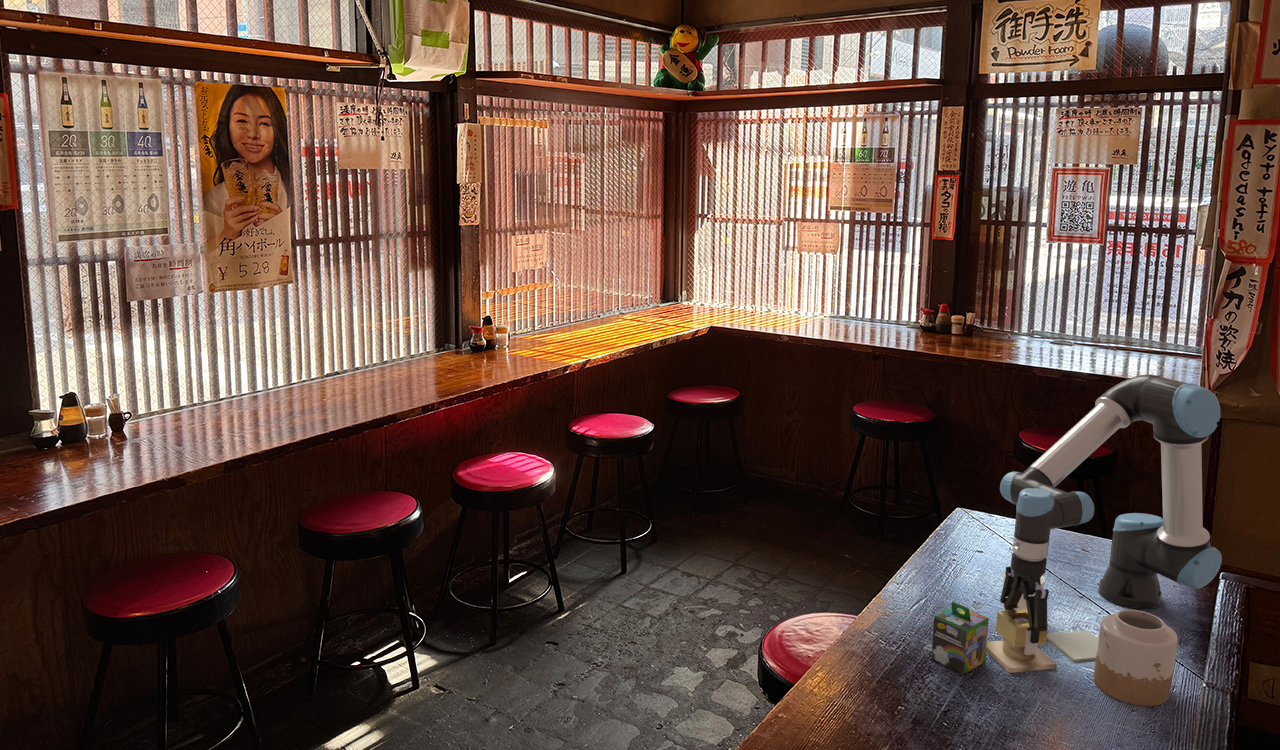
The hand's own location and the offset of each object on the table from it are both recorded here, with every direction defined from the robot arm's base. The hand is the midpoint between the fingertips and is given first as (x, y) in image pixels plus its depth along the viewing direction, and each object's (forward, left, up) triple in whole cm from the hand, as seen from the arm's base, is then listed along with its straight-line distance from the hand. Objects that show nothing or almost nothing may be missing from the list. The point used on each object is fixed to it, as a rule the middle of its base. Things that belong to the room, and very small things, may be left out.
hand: (1019, 644), depth 222 cm
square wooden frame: (0, 0, +2) cm, 2 cm away
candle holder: (-11, -17, -4) cm, 21 cm away
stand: (0, 0, -3) cm, 3 cm away
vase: (-18, +16, -4) cm, 24 cm away
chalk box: (+15, -1, -4) cm, 15 cm away
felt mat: (-18, -2, -3) cm, 18 cm away
